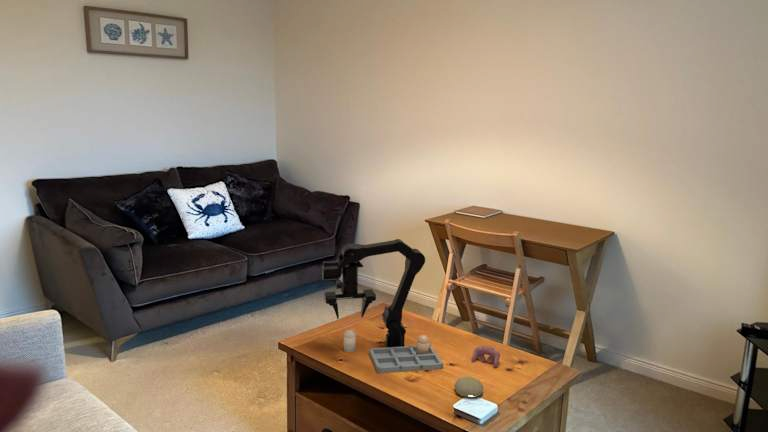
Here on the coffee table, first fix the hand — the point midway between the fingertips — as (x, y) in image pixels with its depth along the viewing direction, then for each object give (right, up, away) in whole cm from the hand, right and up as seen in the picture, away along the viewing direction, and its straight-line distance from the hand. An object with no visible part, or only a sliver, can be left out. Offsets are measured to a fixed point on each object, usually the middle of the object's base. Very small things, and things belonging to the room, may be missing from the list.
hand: (349, 317), depth 222 cm
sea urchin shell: (+41, -20, -26) cm, 53 cm away
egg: (0, -12, +3) cm, 13 cm away
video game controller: (+50, -16, -5) cm, 53 cm away
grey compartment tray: (+21, -15, -6) cm, 26 cm away
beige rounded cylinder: (+27, -14, -1) cm, 31 cm away
